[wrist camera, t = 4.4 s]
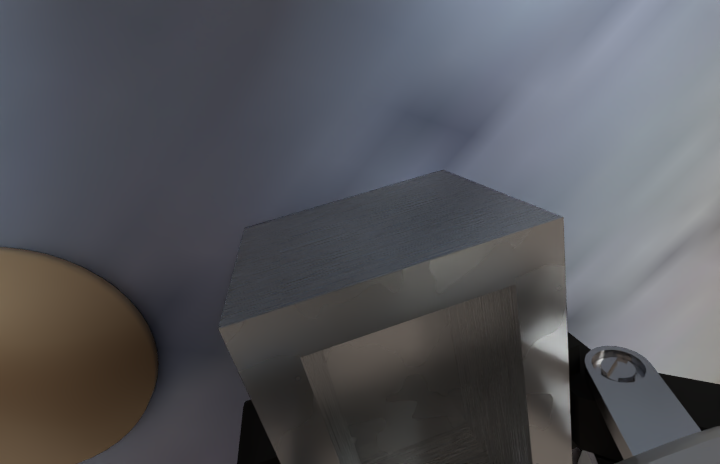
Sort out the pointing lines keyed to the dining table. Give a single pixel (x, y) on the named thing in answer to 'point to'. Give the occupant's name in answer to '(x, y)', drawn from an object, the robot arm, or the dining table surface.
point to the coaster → (67, 361)
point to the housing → (406, 328)
